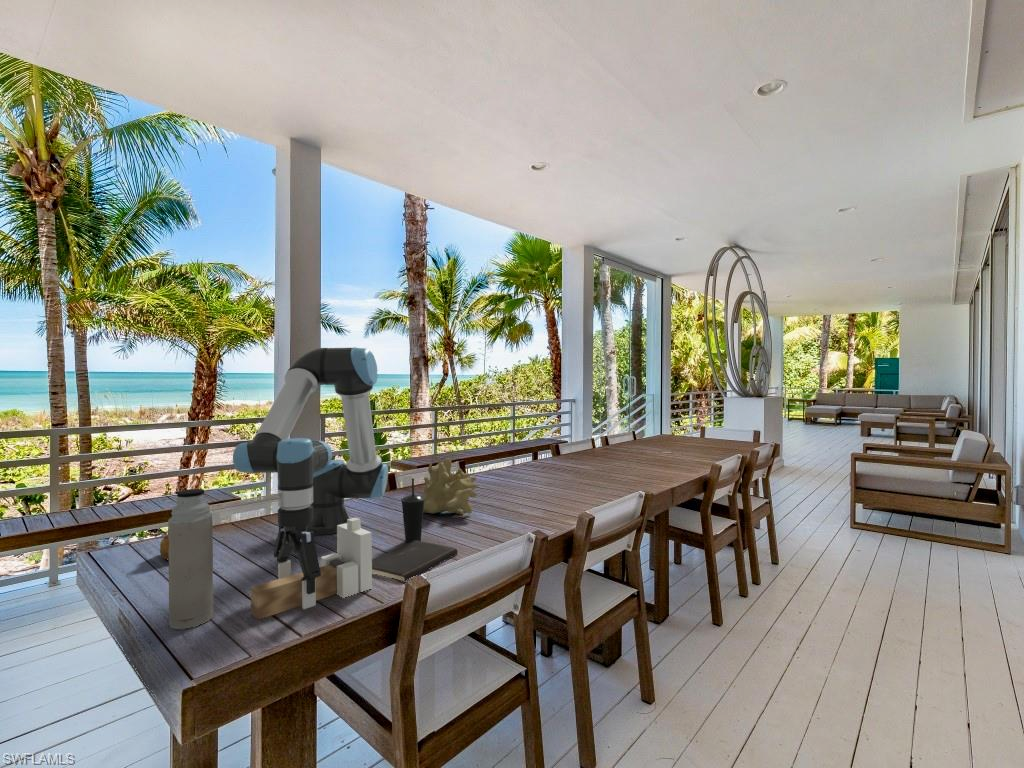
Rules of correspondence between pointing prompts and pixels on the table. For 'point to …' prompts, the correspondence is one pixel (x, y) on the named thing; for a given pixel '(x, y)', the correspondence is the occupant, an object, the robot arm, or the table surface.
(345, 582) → the white block with nub
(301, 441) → the robot arm
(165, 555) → the bread roll
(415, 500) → the drinking cup
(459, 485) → the decorative coral
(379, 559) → the hardcover book
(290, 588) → the tan piece
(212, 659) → the table surface
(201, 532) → the thermos bottle
